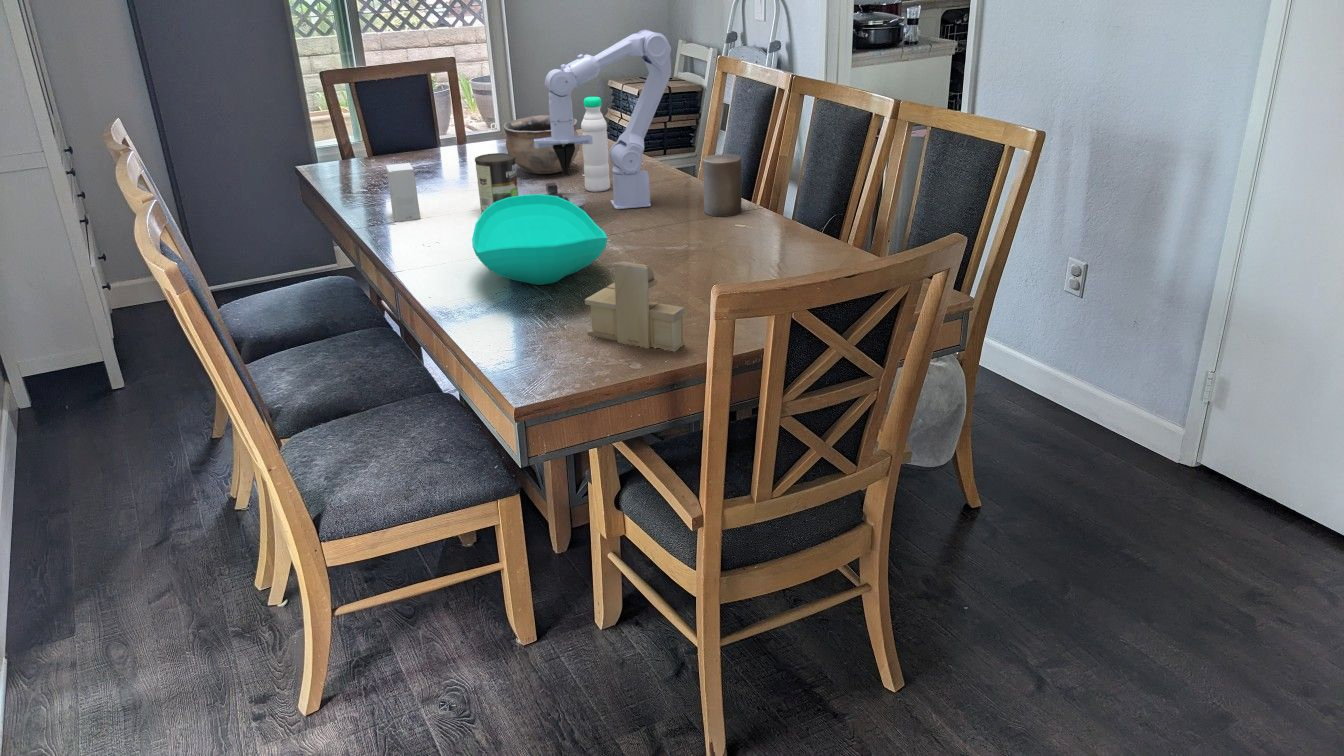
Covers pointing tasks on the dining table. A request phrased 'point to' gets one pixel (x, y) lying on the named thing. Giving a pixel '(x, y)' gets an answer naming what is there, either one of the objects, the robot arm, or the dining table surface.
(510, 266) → the table top decor
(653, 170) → the dining table surface
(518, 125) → the ceramic bowl
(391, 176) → the small box
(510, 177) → the coffee can
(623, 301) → the toy kitchen set
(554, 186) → the lid
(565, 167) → the robot arm
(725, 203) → the pillar candle
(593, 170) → the water bottle
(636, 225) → the dining table surface
